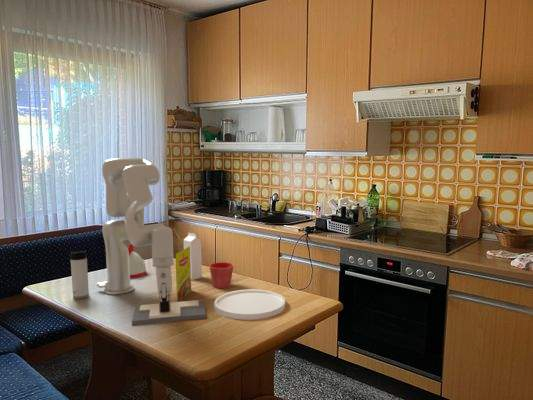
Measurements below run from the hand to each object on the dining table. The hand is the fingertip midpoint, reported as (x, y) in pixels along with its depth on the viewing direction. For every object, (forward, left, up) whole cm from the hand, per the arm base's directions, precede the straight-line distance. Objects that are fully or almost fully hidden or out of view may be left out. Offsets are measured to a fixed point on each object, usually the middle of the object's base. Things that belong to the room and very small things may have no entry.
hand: (164, 309), depth 156 cm
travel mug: (-35, +33, -3) cm, 48 cm away
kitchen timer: (-17, +63, -4) cm, 65 cm away
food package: (+8, +23, -4) cm, 24 cm away
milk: (+13, +49, -3) cm, 50 cm away
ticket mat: (+2, +4, -3) cm, 5 cm away
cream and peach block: (0, 0, -2) cm, 2 cm away
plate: (+33, +5, -4) cm, 33 cm away
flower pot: (+25, +33, -3) cm, 41 cm away
